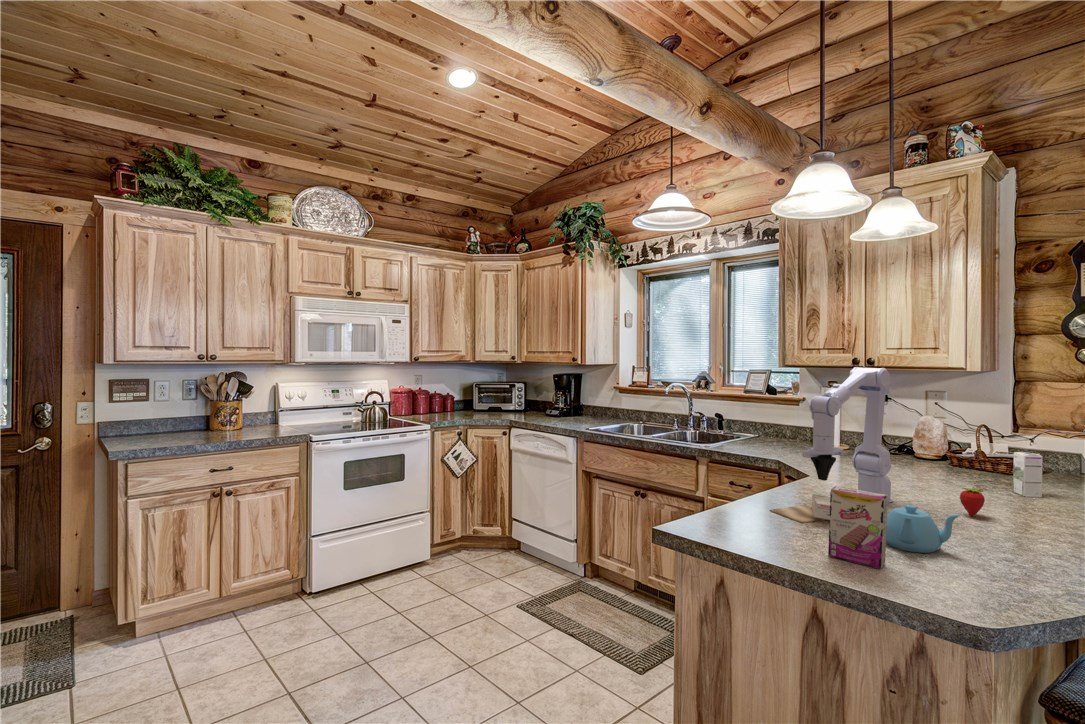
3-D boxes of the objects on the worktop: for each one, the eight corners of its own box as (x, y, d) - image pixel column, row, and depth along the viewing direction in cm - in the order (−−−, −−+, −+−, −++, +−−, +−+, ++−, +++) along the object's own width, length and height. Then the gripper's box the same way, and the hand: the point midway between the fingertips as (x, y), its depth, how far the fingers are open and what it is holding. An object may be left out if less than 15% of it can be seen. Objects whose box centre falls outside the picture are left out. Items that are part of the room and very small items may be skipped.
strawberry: (957, 516, 160) (958, 483, 160) (960, 511, 165) (961, 479, 165) (982, 521, 156) (983, 487, 155) (985, 515, 161) (986, 482, 161)
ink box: (811, 509, 164) (813, 519, 150) (812, 493, 164) (815, 502, 151) (843, 515, 160) (849, 525, 147) (844, 498, 161) (850, 507, 147)
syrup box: (1042, 497, 181) (1044, 455, 181) (1022, 496, 183) (1024, 454, 182) (1031, 493, 187) (1032, 452, 187) (1011, 492, 188) (1012, 451, 188)
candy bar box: (827, 557, 127) (829, 489, 127) (832, 551, 131) (834, 485, 131) (882, 570, 120) (884, 498, 120) (886, 564, 124) (888, 493, 123)
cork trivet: (804, 506, 168) (804, 505, 168) (837, 518, 157) (837, 516, 157) (769, 511, 164) (769, 509, 163) (801, 523, 152) (801, 521, 152)
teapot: (915, 535, 143) (916, 497, 143) (964, 557, 128) (965, 514, 128) (863, 536, 142) (864, 498, 142) (906, 558, 127) (907, 515, 127)
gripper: (830, 432, 169) (829, 474, 169) (794, 434, 164) (793, 478, 164) (849, 435, 162) (848, 480, 163) (814, 438, 157) (812, 484, 157)
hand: (822, 479), depth 163 cm, fingers closed
